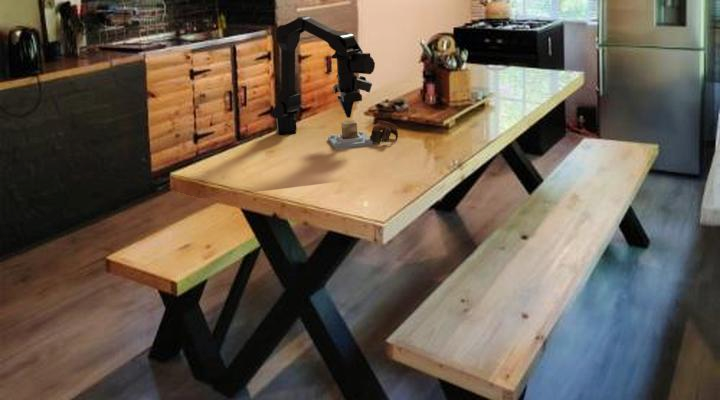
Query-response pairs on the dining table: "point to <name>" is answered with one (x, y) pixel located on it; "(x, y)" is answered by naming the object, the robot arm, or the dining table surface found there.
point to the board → (349, 141)
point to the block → (349, 129)
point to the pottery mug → (383, 132)
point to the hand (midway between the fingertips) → (348, 117)
